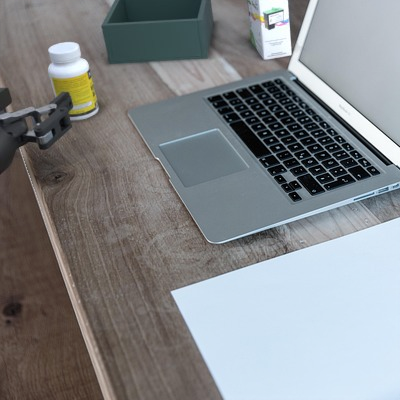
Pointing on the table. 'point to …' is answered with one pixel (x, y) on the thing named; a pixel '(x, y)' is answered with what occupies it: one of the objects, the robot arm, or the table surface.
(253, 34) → the ink box
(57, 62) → the supplement bottle
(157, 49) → the bin
